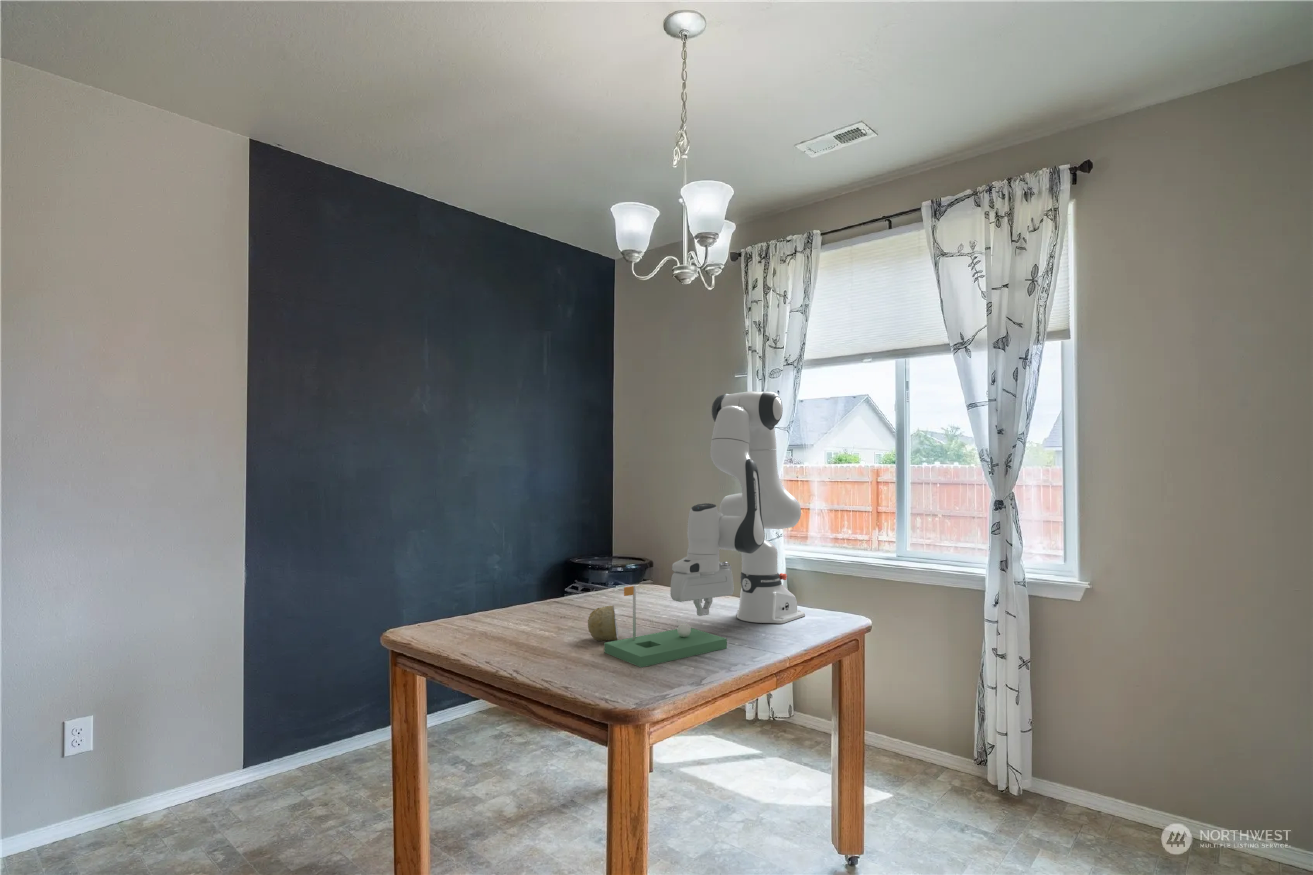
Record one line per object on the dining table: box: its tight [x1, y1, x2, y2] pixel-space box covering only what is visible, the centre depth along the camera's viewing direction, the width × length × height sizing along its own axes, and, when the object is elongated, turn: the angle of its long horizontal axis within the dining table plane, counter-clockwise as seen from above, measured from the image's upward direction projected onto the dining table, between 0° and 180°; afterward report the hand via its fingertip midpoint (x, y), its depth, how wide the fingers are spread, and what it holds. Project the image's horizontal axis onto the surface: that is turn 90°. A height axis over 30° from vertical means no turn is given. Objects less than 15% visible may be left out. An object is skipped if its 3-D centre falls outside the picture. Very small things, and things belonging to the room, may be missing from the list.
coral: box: [587, 605, 619, 642], centre depth 190 cm, size 10×10×10 cm
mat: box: [603, 585, 728, 668], centre depth 180 cm, size 28×16×16 cm, turn 127°
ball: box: [676, 622, 692, 637], centre depth 183 cm, size 4×4×4 cm
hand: (702, 615), depth 187 cm, fingers closed
